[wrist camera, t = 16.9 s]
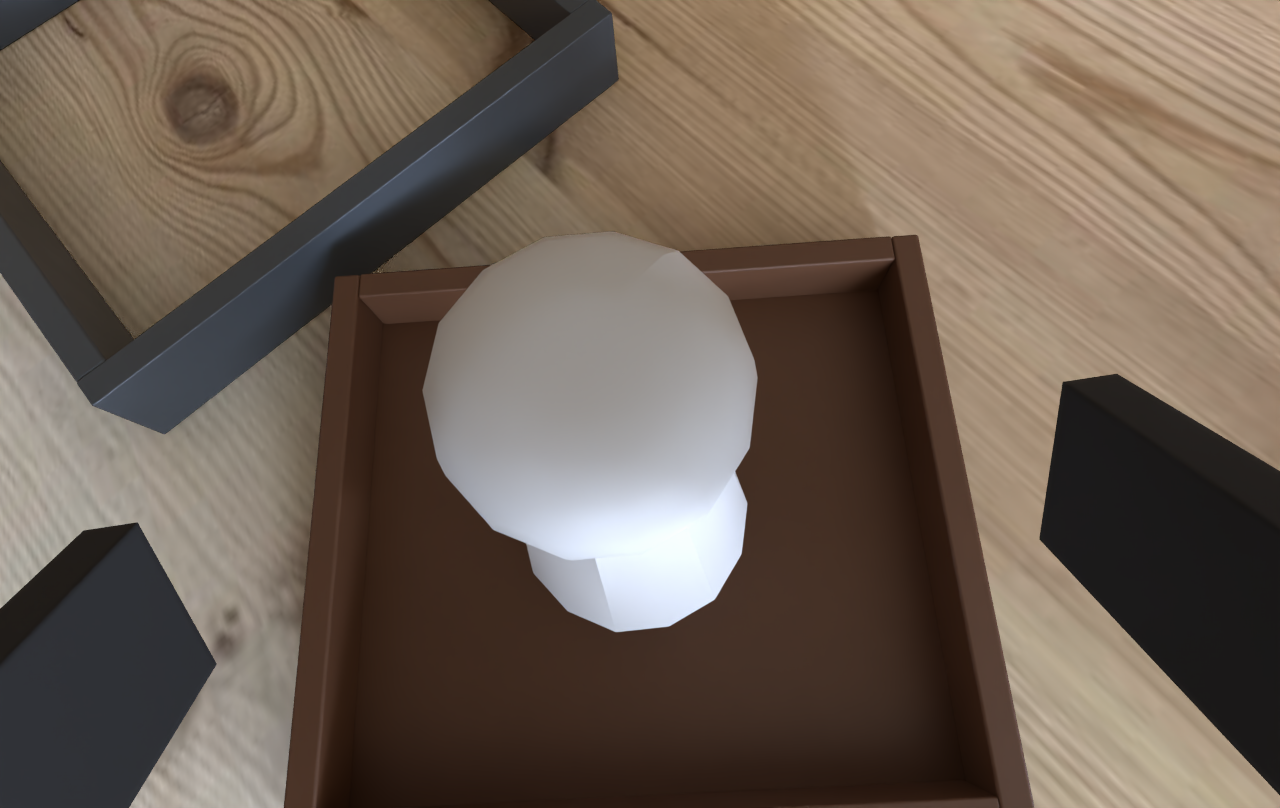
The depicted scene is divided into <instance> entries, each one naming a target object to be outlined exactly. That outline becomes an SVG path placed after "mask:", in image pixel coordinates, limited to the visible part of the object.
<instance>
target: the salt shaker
mask: <svg viewBox="0 0 1280 808" xmlns="http://www.w3.org/2000/svg"><path fill="white" fill-rule="evenodd" d="M757 378H758V377H757V372H756V366H755V361H754V358H753V355H752V353H751V351H750V348H749V346H748V343H747V341H746V338H745V336H744V334H743V331H742V329H741V326H740V324H739V321H738V319H737V317H736V314H735V312H734V309H733V307H732V305H731V302H730V300H729V297H728V296H727V295H726V294H725V293H724V292H723V291H722V290H721V289H720V288H718V287H717V286H716V285H715V284H714V283H713V282H712V281H711V280H710V279H709V278H708V277H706V276H705V275H704V274H703V273H702V272H701V271H700V270H699V269H698V268H697V267H696V266H695V265H693V264H692V263H691V262H690V261H689V260H688V259H687V258H686V257H685V256H684V255H683V254H681V253H680V252H679V251H678V250H674V249H671V248H668V247H664V246H661V245H658V244H654V243H651V242H648V241H645V240H641V239H638V238H635V237H631V236H628V235H625V234H621V233H618V232H615V231H607V232H595V233H584V234H572V235H561V236H549V237H543V238H541V239H539V240H537V241H536V242H534V243H532V244H530V245H528V246H526V247H525V248H523V249H521V250H519V251H517V252H515V253H513V254H512V255H510V256H508V257H506V258H504V259H502V260H501V261H499V262H497V263H495V264H493V265H491V266H489V267H488V268H486V269H484V270H483V271H482V272H481V273H480V274H479V275H478V277H477V278H476V279H475V280H474V281H473V283H472V284H471V285H470V286H469V287H468V289H467V290H466V291H465V292H464V293H463V295H462V296H461V297H460V298H459V299H458V301H457V302H456V303H455V304H454V305H453V307H452V308H451V309H450V310H449V311H448V313H447V314H446V315H445V316H444V317H443V319H442V320H441V321H440V322H439V324H438V328H437V332H436V336H435V340H434V345H433V349H432V353H431V357H430V361H429V365H428V369H427V374H426V378H425V382H424V386H423V390H422V391H423V396H424V400H425V405H426V410H427V414H428V419H429V424H430V428H431V433H432V438H433V443H434V447H435V452H436V457H437V460H438V462H439V464H440V466H441V468H442V470H443V472H444V474H445V476H446V477H447V478H448V479H449V480H450V481H451V483H452V484H453V485H454V486H455V487H456V488H457V489H458V490H459V492H460V493H461V494H462V495H463V496H464V497H465V498H466V500H467V501H468V502H469V503H470V504H471V505H472V506H473V507H474V509H475V510H476V511H477V512H478V513H479V514H480V515H481V516H482V518H483V519H484V520H485V521H486V522H487V523H488V524H489V525H490V527H491V528H492V529H493V530H495V531H497V532H500V533H502V534H505V535H507V536H509V537H512V538H514V539H517V540H519V541H522V542H524V543H526V545H527V549H528V553H529V557H530V562H531V566H532V570H533V573H534V574H535V575H536V577H537V578H538V579H539V580H540V581H541V582H542V583H543V584H544V585H545V587H546V588H547V589H548V590H549V591H550V592H551V593H552V594H553V596H554V597H555V598H556V599H557V600H558V601H559V602H560V603H561V604H562V606H563V607H564V608H565V609H566V610H567V611H568V612H571V613H573V614H575V615H578V616H580V617H582V618H584V619H587V620H589V621H591V622H594V623H596V624H598V625H601V626H603V627H605V628H608V629H610V630H612V631H614V632H623V631H632V630H641V629H650V628H659V627H669V626H671V625H672V624H674V623H676V622H677V621H679V620H681V619H683V618H684V617H686V616H688V615H689V614H691V613H693V612H694V611H696V610H698V609H700V608H701V607H703V606H705V605H706V604H708V603H710V602H712V601H713V600H715V598H716V597H717V595H718V593H719V592H720V590H721V588H722V586H723V585H724V583H725V581H726V580H727V578H728V576H729V575H730V573H731V571H732V569H733V568H734V566H735V564H736V563H737V561H738V559H739V558H740V556H741V554H742V546H743V538H744V529H745V521H746V512H747V501H746V498H745V496H744V493H743V491H742V488H741V485H740V483H739V480H738V477H737V475H736V472H735V471H736V469H737V467H738V466H739V464H740V463H741V461H742V459H743V458H744V456H745V455H746V453H747V451H748V450H749V448H750V441H751V432H752V423H753V414H754V405H755V396H756V387H757Z"/></svg>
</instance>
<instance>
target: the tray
mask: <svg viewBox="0 0 1280 808" xmlns="http://www.w3.org/2000/svg"><path fill="white" fill-rule="evenodd" d="M680 253H681V254H683V255H684V256H685V257H686V258H687V259H688V260H689V261H690V262H691V263H692V264H693V265H695V266H696V267H697V268H698V269H699V270H700V271H701V272H702V273H703V274H704V275H705V276H706V277H708V278H709V279H710V280H711V281H712V282H713V283H714V284H715V285H716V286H717V287H718V288H720V289H721V290H722V291H723V292H724V293H725V294H726V295H727V296H728V297H729V300H730V302H731V305H732V307H733V309H734V312H735V314H736V317H737V319H738V321H739V324H740V326H741V329H742V331H743V334H744V336H745V338H746V341H747V343H748V346H749V348H750V351H751V353H752V355H753V358H754V361H755V366H756V372H757V377H758V378H757V387H756V396H755V405H754V414H753V423H752V432H751V441H750V448H749V450H748V451H747V453H746V455H745V456H744V458H743V459H742V461H741V463H740V464H739V466H738V467H737V469H736V471H735V472H736V475H737V477H738V480H739V483H740V485H741V488H742V491H743V493H744V496H745V498H746V501H747V512H746V521H745V529H744V538H743V546H742V554H741V556H740V558H739V559H738V561H737V563H736V564H735V566H734V568H733V569H732V571H731V573H730V575H729V576H728V578H727V580H726V581H725V583H724V585H723V586H722V588H721V590H720V592H719V593H718V595H717V597H716V598H715V600H713V601H712V602H710V603H708V604H706V605H705V606H703V607H701V608H700V609H698V610H696V611H694V612H693V613H691V614H689V615H688V616H686V617H684V618H683V619H681V620H679V621H677V622H676V623H674V624H672V625H671V626H669V627H659V628H650V629H641V630H632V631H623V632H614V631H612V630H610V629H608V628H605V627H603V626H601V625H598V624H596V623H594V622H591V621H589V620H587V619H584V618H582V617H580V616H578V615H575V614H573V613H571V612H568V611H567V610H566V609H565V608H564V607H563V606H562V604H561V603H560V602H559V601H558V600H557V599H556V598H555V597H554V596H553V594H552V593H551V592H550V591H549V590H548V589H547V588H546V587H545V585H544V584H543V583H542V582H541V581H540V580H539V579H538V578H537V577H536V575H535V574H534V573H533V570H532V566H531V562H530V557H529V553H528V549H527V545H526V543H524V542H522V541H519V540H517V539H514V538H512V537H509V536H507V535H505V534H502V533H500V532H497V531H495V530H493V529H492V528H491V527H490V525H489V524H488V523H487V522H486V521H485V520H484V519H483V518H482V516H481V515H480V514H479V513H478V512H477V511H476V510H475V509H474V507H473V506H472V505H471V504H470V503H469V502H468V501H467V500H466V498H465V497H464V496H463V495H462V494H461V493H460V492H459V490H458V489H457V488H456V487H455V486H454V485H453V484H452V483H451V481H450V480H449V479H448V478H447V477H446V476H445V474H444V472H443V470H442V468H441V466H440V464H439V462H438V460H437V457H436V452H435V447H434V443H433V438H432V433H431V428H430V424H429V419H428V414H427V410H426V405H425V400H424V396H423V391H422V390H423V386H424V382H425V378H426V374H427V369H428V365H429V361H430V357H431V353H432V349H433V345H434V340H435V336H436V332H437V328H438V324H439V322H440V321H441V320H442V319H443V317H444V316H445V315H446V314H447V313H448V311H449V310H450V309H451V308H452V307H453V305H454V304H455V303H456V302H457V301H458V299H459V298H460V297H461V296H462V295H463V293H464V292H465V291H466V290H467V289H468V287H469V286H470V285H471V284H472V283H473V281H474V280H475V279H476V278H477V277H478V275H479V274H480V273H481V272H482V271H483V270H484V269H486V268H488V267H489V266H491V265H484V266H470V267H456V268H442V269H428V270H414V271H400V272H386V273H372V274H362V275H361V276H359V275H349V276H337V277H335V281H334V291H333V301H332V312H331V322H330V333H329V343H328V353H327V364H326V374H325V385H324V395H323V406H322V416H321V426H320V437H319V447H318V458H317V468H316V478H315V489H314V499H313V510H312V520H311V531H310V541H309V551H308V562H307V572H306V583H305V593H304V603H303V614H302V624H301V635H300V645H299V656H298V666H297V676H296V687H295V697H294V708H293V718H292V729H291V739H290V749H289V760H288V770H287V781H286V791H285V801H284V808H1034V803H1033V798H1032V793H1031V788H1030V783H1029V778H1028V774H1027V769H1026V764H1025V759H1024V754H1023V749H1022V744H1021V739H1020V734H1019V729H1018V724H1017V720H1016V715H1015V710H1014V705H1013V700H1012V695H1011V690H1010V685H1009V680H1008V675H1007V671H1006V666H1005V661H1004V656H1003V651H1002V646H1001V641H1000V636H999V631H998V626H997V621H996V617H995V612H994V607H993V602H992V597H991V592H990V587H989V582H988V577H987V572H986V567H985V563H984V558H983V553H982V548H981V543H980V538H979V533H978V528H977V523H976V518H975V513H974V509H973V504H972V499H971V494H970V489H969V484H968V479H967V474H966V469H965V464H964V459H963V455H962V450H961V445H960V440H959V435H958V430H957V425H956V420H955V415H954V410H953V405H952V401H951V396H950V391H949V386H948V381H947V376H946V371H945V366H944V361H943V356H942V351H941V347H940V342H939V337H938V332H937V327H936V322H935V317H934V312H933V307H932V302H931V297H930V293H929V288H928V283H927V278H926V273H925V268H924V263H923V258H922V253H921V248H920V244H919V239H918V236H917V235H907V236H894V237H892V238H891V237H876V238H862V239H848V240H834V241H820V242H806V243H792V244H778V245H764V246H750V247H736V248H722V249H708V250H694V251H680Z"/></svg>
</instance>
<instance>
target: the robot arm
mask: <svg viewBox="0 0 1280 808" xmlns="http://www.w3.org/2000/svg"><path fill="white" fill-rule="evenodd" d="M1040 540H1041V541H1042V542H1043V543H1044V545H1045V546H1046V547H1047V548H1048V549H1049V550H1050V551H1051V552H1052V553H1053V554H1054V555H1055V556H1056V557H1057V558H1058V559H1059V561H1060V562H1061V563H1062V564H1063V565H1064V566H1065V567H1066V568H1067V569H1068V570H1069V571H1070V572H1071V573H1072V574H1073V575H1074V576H1075V578H1076V579H1077V580H1078V581H1079V582H1080V583H1081V584H1082V585H1083V586H1084V587H1085V588H1086V589H1087V590H1088V591H1089V592H1090V594H1091V595H1092V596H1093V597H1094V598H1095V599H1096V600H1097V601H1098V602H1099V603H1100V604H1101V605H1102V606H1103V607H1104V608H1105V610H1106V611H1107V612H1108V613H1109V614H1110V615H1111V616H1112V617H1113V618H1114V619H1115V620H1116V621H1117V622H1118V623H1119V624H1120V626H1121V627H1122V628H1123V629H1124V630H1125V631H1126V632H1127V633H1128V634H1129V635H1130V636H1131V637H1132V638H1133V639H1134V640H1135V641H1136V643H1137V644H1138V645H1139V646H1140V647H1141V648H1142V649H1143V650H1144V651H1145V652H1146V653H1147V654H1148V655H1149V656H1150V657H1151V659H1152V660H1153V661H1154V662H1155V663H1156V664H1157V665H1158V666H1159V667H1160V668H1161V669H1162V670H1163V671H1164V672H1165V673H1166V675H1167V676H1168V677H1169V678H1170V679H1171V680H1172V681H1173V682H1174V683H1175V684H1176V685H1177V686H1178V687H1179V688H1180V689H1181V690H1182V692H1183V693H1184V694H1185V695H1186V696H1187V697H1188V698H1189V699H1190V700H1191V701H1192V702H1193V703H1194V704H1195V705H1196V706H1197V708H1198V709H1199V710H1200V711H1201V712H1202V713H1203V714H1204V715H1205V716H1206V717H1207V718H1208V719H1209V720H1210V721H1211V722H1212V724H1213V725H1214V726H1215V727H1216V728H1217V729H1218V730H1219V731H1220V732H1221V733H1222V734H1223V735H1224V736H1225V737H1226V738H1227V740H1228V741H1229V742H1230V743H1231V744H1232V745H1233V746H1234V747H1235V748H1236V749H1237V750H1238V751H1239V752H1240V753H1241V754H1242V755H1243V757H1244V758H1245V759H1246V760H1247V761H1248V762H1249V763H1250V764H1251V765H1252V766H1253V767H1254V768H1255V769H1256V770H1257V771H1258V773H1259V774H1260V775H1261V776H1262V777H1263V778H1264V779H1265V780H1266V781H1267V782H1268V783H1269V784H1270V785H1271V786H1272V787H1273V789H1274V790H1275V791H1276V792H1277V793H1278V794H1279V795H1280V471H1279V470H1277V469H1275V468H1274V467H1272V466H1270V465H1269V464H1267V463H1265V462H1264V461H1262V460H1260V459H1259V458H1257V457H1255V456H1254V455H1252V454H1250V453H1249V452H1247V451H1245V450H1244V449H1242V448H1240V447H1238V446H1237V445H1235V444H1233V443H1232V442H1230V441H1228V440H1227V439H1225V438H1223V437H1222V436H1220V435H1218V434H1217V433H1215V432H1213V431H1212V430H1210V429H1208V428H1207V427H1205V426H1203V425H1202V424H1200V423H1198V422H1197V421H1195V420H1193V419H1192V418H1190V417H1188V416H1187V415H1185V414H1183V413H1182V412H1180V411H1178V410H1177V409H1175V408H1173V407H1172V406H1170V405H1168V404H1167V403H1165V402H1163V401H1161V400H1160V399H1158V398H1156V397H1155V396H1153V395H1151V394H1150V393H1148V392H1146V391H1145V390H1143V389H1141V388H1140V387H1138V386H1136V385H1135V384H1133V383H1131V382H1130V381H1128V380H1126V379H1125V378H1123V377H1121V376H1120V375H1118V374H1113V375H1106V376H1099V377H1093V378H1086V379H1080V380H1073V381H1066V382H1063V384H1062V391H1061V398H1060V405H1059V411H1058V418H1057V425H1056V431H1055V438H1054V445H1053V452H1052V458H1051V465H1050V472H1049V478H1048V485H1047V492H1046V499H1045V505H1044V512H1043V519H1042V525H1041V532H1040ZM215 666H216V662H215V660H214V658H213V656H212V655H211V653H210V651H209V649H208V648H207V646H206V644H205V642H204V640H203V639H202V637H201V635H200V633H199V631H198V630H197V628H196V626H195V624H194V623H193V621H192V619H191V617H190V615H189V614H188V612H187V610H186V608H185V606H184V605H183V603H182V601H181V599H180V598H179V596H178V594H177V592H176V590H175V589H174V587H173V585H172V583H171V581H170V580H169V578H168V576H167V574H166V572H165V571H164V569H163V567H162V565H161V564H160V562H159V560H158V558H157V556H156V555H155V553H154V551H153V549H152V547H151V546H150V544H149V542H148V540H147V539H146V537H145V535H144V533H143V531H142V530H141V528H140V526H139V524H138V522H137V523H131V524H124V525H118V526H111V527H104V528H98V529H91V530H85V531H83V532H82V533H81V534H79V535H78V536H77V537H76V538H75V539H74V540H73V541H72V542H71V543H70V544H69V545H68V546H67V547H66V548H65V549H63V550H62V551H61V552H60V553H59V554H58V555H57V556H56V557H55V558H54V559H53V560H52V561H51V562H50V563H49V564H47V565H46V566H45V567H44V568H43V569H42V570H41V571H40V572H39V573H38V574H37V575H36V576H35V577H34V578H33V579H32V580H30V581H29V582H28V583H27V584H26V585H25V586H24V587H23V588H22V589H21V590H20V591H19V592H18V593H17V594H16V595H14V596H13V597H12V598H11V599H10V600H9V601H8V602H7V603H6V604H5V605H4V606H3V607H2V608H1V609H0V808H129V807H130V805H131V803H132V802H133V800H134V799H135V797H136V795H137V794H138V792H139V790H140V789H141V787H142V785H143V784H144V782H145V781H146V779H147V777H148V776H149V774H150V772H151V771H152V769H153V767H154V766H155V764H156V763H157V761H158V759H159V758H160V756H161V754H162V753H163V751H164V749H165V748H166V746H167V745H168V743H169V741H170V740H171V738H172V736H173V735H174V733H175V731H176V730H177V728H178V727H179V725H180V723H181V722H182V720H183V718H184V717H185V715H186V713H187V712H188V710H189V709H190V707H191V705H192V704H193V702H194V700H195V699H196V697H197V695H198V694H199V692H200V691H201V689H202V687H203V686H204V684H205V682H206V681H207V679H208V677H209V676H210V674H211V673H212V671H213V669H214V668H215Z"/></svg>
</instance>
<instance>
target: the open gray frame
mask: <svg viewBox="0 0 1280 808" xmlns="http://www.w3.org/2000/svg"><path fill="white" fill-rule="evenodd" d="M77 1H78V0H0V50H1V49H3V48H4V47H6V46H7V45H9V44H11V43H12V42H14V41H15V40H17V39H18V38H20V37H22V36H23V35H25V34H26V33H28V32H29V31H31V30H33V29H34V28H36V27H37V26H39V25H40V24H42V23H44V22H45V21H47V20H48V19H50V18H52V17H53V16H55V15H56V14H58V13H59V12H61V11H63V10H64V9H66V8H67V7H69V6H70V5H72V4H74V3H75V2H77ZM489 1H490V2H492V3H493V4H494V5H495V6H496V7H497V8H499V9H500V10H501V11H502V12H503V13H504V14H506V15H507V16H508V17H509V18H510V19H512V20H513V21H514V22H515V23H516V24H517V25H519V26H520V27H521V28H522V29H523V30H524V31H526V32H527V33H528V34H529V35H530V36H531V37H533V38H534V39H535V41H534V42H532V43H531V44H530V45H528V46H527V47H526V48H524V49H523V50H522V51H520V52H519V53H518V54H516V55H515V56H514V57H512V58H511V59H510V60H508V61H507V62H506V63H504V64H503V65H502V66H500V67H499V68H498V69H496V70H495V71H494V72H492V73H491V74H490V75H488V76H487V77H486V78H484V79H483V80H482V81H480V82H479V83H478V84H476V85H475V86H473V87H472V88H471V89H469V90H468V91H467V92H465V93H464V94H463V95H461V96H460V97H459V98H457V99H456V100H455V101H453V102H452V103H451V104H449V105H448V106H447V107H445V108H444V109H443V110H441V111H440V112H439V113H437V114H436V115H435V116H433V117H432V118H431V119H429V120H428V121H427V122H425V123H424V124H423V125H421V126H420V127H419V128H417V129H416V130H414V131H413V132H412V133H410V134H409V135H408V136H406V137H405V138H404V139H402V140H401V141H400V142H398V143H397V144H396V145H394V146H393V147H392V148H390V149H389V150H388V151H386V152H385V153H384V154H382V155H381V156H380V157H378V158H377V159H376V160H374V161H373V162H372V163H370V164H369V165H368V166H366V167H365V168H364V169H362V170H361V171H360V172H358V173H357V174H355V175H354V176H353V177H351V178H350V179H349V180H347V181H346V182H345V183H343V184H342V185H341V186H339V187H338V188H337V189H335V190H334V191H333V192H331V193H330V194H329V195H327V196H326V197H325V198H323V199H322V200H321V201H319V202H318V203H317V204H315V205H314V206H313V207H311V208H310V209H309V210H307V211H306V212H305V213H303V214H302V215H301V216H299V217H298V218H296V219H295V220H294V221H292V222H291V223H290V224H288V225H287V226H286V227H284V228H283V229H282V230H280V231H279V232H278V233H276V234H275V235H274V236H272V237H271V238H270V239H268V240H267V241H266V242H264V243H263V244H262V245H260V246H259V247H258V248H256V249H255V250H254V251H252V252H251V253H250V254H248V255H247V256H246V257H244V258H243V259H242V260H240V261H239V262H237V263H236V264H235V265H233V266H232V267H231V268H229V269H228V270H227V271H225V272H224V273H223V274H221V275H220V276H219V277H217V278H216V279H215V280H213V281H212V282H211V283H209V284H208V285H207V286H205V287H204V288H203V289H201V290H200V291H199V292H197V293H196V294H195V295H193V296H192V297H191V298H189V299H188V300H187V301H185V302H184V303H183V304H181V305H180V306H179V307H177V308H176V309H174V310H173V311H172V312H170V313H169V314H168V315H166V316H165V317H164V318H162V319H161V320H160V321H158V322H157V323H156V324H154V325H153V326H152V327H150V328H149V329H148V330H146V331H145V332H144V333H142V334H141V335H140V336H138V337H137V338H136V339H133V338H132V337H131V335H130V334H129V333H128V331H127V330H126V329H125V327H124V326H123V325H122V323H121V322H120V320H119V319H118V318H117V316H116V315H115V314H114V312H113V311H112V310H111V308H110V307H109V306H108V304H107V303H106V302H105V300H104V299H103V298H102V296H101V295H100V294H99V292H98V291H97V290H96V288H95V287H94V286H93V284H92V283H91V282H90V280H89V279H88V278H87V276H86V275H85V274H84V272H83V271H82V270H81V268H80V267H79V266H78V264H77V263H76V262H75V260H74V259H73V258H72V256H71V255H70V254H69V252H68V251H67V250H66V248H65V247H64V245H63V244H62V243H61V241H60V240H59V239H58V237H57V236H56V235H55V233H54V232H53V231H52V229H51V228H50V227H49V225H48V224H47V223H46V221H45V220H44V219H43V217H42V216H41V215H40V213H39V212H38V211H37V209H36V208H35V207H34V205H33V204H32V203H31V201H30V200H29V199H28V197H27V196H26V195H25V193H24V192H23V191H22V189H21V188H20V187H19V185H18V184H17V183H16V181H15V180H14V179H13V177H12V176H11V174H10V173H9V172H8V170H7V169H6V168H5V166H4V165H3V164H2V162H1V161H0V273H1V274H2V276H3V277H4V279H5V280H6V282H7V283H8V285H9V286H10V287H11V289H12V290H13V292H14V293H15V295H16V296H17V297H18V299H19V300H20V302H21V303H22V305H23V306H24V307H25V309H26V310H27V312H28V313H29V315H30V316H31V318H32V319H33V320H34V322H35V323H36V325H37V326H38V328H39V329H40V330H41V332H42V333H43V335H44V336H45V338H46V339H47V340H48V342H49V343H50V345H51V346H52V348H53V349H54V350H55V352H56V353H57V355H58V356H59V358H60V359H61V361H62V362H63V363H64V365H65V366H66V368H67V369H68V371H69V372H70V373H71V375H72V376H73V378H74V379H75V381H76V382H77V384H78V386H79V387H80V389H81V390H82V391H83V393H84V394H85V396H86V397H87V399H88V400H89V401H90V403H91V404H92V406H94V407H97V408H99V409H102V410H104V411H107V412H110V413H112V414H115V415H117V416H120V417H122V418H125V419H127V420H130V421H132V422H135V423H137V424H140V425H142V426H145V427H147V428H150V429H152V430H155V431H157V432H160V433H162V434H166V433H167V432H168V431H170V430H171V429H172V428H173V427H175V426H176V425H177V424H179V423H180V422H181V421H182V420H184V419H185V418H186V417H188V416H189V415H190V414H191V413H193V412H194V411H195V410H196V409H198V408H199V407H200V406H202V405H203V404H204V403H205V402H207V401H208V400H209V399H211V398H212V397H213V396H214V395H216V394H217V393H218V392H220V391H221V390H222V389H223V388H225V387H226V386H227V385H228V384H230V383H231V382H232V381H234V380H235V379H236V378H237V377H239V376H240V375H241V374H243V373H244V372H245V371H246V370H248V369H249V368H250V367H252V366H253V365H254V364H255V363H257V362H258V361H259V360H260V359H262V358H263V357H264V356H266V355H267V354H268V353H269V352H271V351H272V350H273V349H275V348H276V347H277V346H278V345H280V344H281V343H282V342H284V341H285V340H286V339H287V338H289V337H290V336H291V335H292V334H294V333H295V332H296V331H298V330H299V329H300V328H301V327H303V326H304V325H305V324H307V323H308V322H309V321H310V320H312V319H313V318H314V317H316V316H317V315H318V314H319V313H321V312H322V311H323V310H325V309H326V308H327V307H328V306H330V305H331V304H332V301H333V291H334V281H335V277H337V276H349V275H359V276H361V275H362V274H371V273H372V272H373V271H374V270H376V269H377V268H378V267H380V266H381V265H382V264H383V263H385V262H386V261H387V260H389V259H390V258H391V257H392V256H394V255H395V254H396V253H397V252H399V251H400V250H401V249H403V248H404V247H405V246H406V245H408V244H409V243H410V242H412V241H413V240H414V239H415V238H417V237H418V236H419V235H421V234H422V233H423V232H424V231H426V230H427V229H428V228H429V227H431V226H432V225H433V224H435V223H436V222H437V221H438V220H440V219H441V218H442V217H444V216H445V215H446V214H447V213H449V212H450V211H451V210H453V209H454V208H455V207H456V206H458V205H459V204H460V203H461V202H463V201H464V200H465V199H467V198H468V197H469V196H470V195H472V194H473V193H474V192H476V191H477V190H478V189H479V188H481V187H482V186H483V185H485V184H486V183H487V182H488V181H490V180H491V179H492V178H493V177H495V176H496V175H497V174H499V173H500V172H501V171H502V170H504V169H505V168H506V167H508V166H509V165H510V164H511V163H513V162H514V161H515V160H517V159H518V158H519V157H520V156H522V155H523V154H524V153H525V152H527V151H528V150H529V149H531V148H532V147H533V146H534V145H536V144H537V143H538V142H540V141H541V140H542V139H543V138H545V137H546V136H547V135H549V134H550V133H551V132H552V131H554V130H555V129H556V128H557V127H559V126H560V125H561V124H563V123H564V122H565V121H566V120H568V119H569V118H570V117H572V116H573V115H574V114H575V113H577V112H578V111H579V110H581V109H582V108H583V107H584V106H586V105H587V104H588V103H589V102H591V101H592V100H593V99H595V98H596V97H597V96H598V95H600V94H601V93H602V92H604V91H605V90H606V89H607V88H609V87H610V86H611V85H613V84H614V83H615V82H616V81H618V79H619V78H618V68H617V58H616V49H615V39H614V29H613V20H612V13H611V12H610V11H609V10H607V9H606V8H605V7H604V6H602V5H601V4H600V3H599V2H597V1H596V0H489Z"/></svg>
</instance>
